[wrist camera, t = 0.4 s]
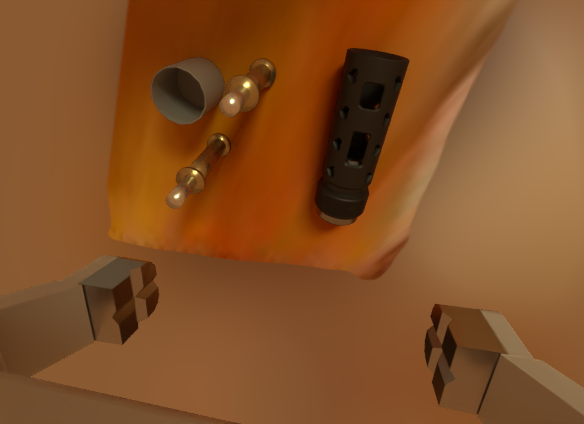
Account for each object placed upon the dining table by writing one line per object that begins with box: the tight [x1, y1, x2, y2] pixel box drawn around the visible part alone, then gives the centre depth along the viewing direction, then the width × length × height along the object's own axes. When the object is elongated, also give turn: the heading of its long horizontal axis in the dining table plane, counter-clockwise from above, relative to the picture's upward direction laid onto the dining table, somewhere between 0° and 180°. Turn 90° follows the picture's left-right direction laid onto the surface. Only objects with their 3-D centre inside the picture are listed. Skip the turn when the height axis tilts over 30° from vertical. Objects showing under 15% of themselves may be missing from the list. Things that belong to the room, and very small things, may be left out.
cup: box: [150, 57, 224, 124], centre depth 50 cm, size 8×8×10 cm
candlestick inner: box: [219, 59, 276, 117], centre depth 43 cm, size 4×4×22 cm
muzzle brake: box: [315, 48, 409, 225], centre depth 52 cm, size 10×28×10 cm, turn 172°
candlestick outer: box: [166, 133, 231, 209], centre depth 51 cm, size 4×4×22 cm
